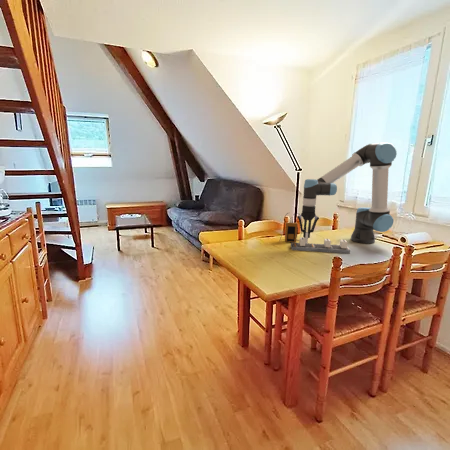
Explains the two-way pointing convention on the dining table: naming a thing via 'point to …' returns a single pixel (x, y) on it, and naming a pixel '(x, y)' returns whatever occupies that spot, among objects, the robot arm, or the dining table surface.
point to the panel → (319, 248)
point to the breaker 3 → (343, 244)
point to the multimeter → (291, 231)
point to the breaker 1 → (302, 241)
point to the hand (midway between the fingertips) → (305, 242)
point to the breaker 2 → (327, 243)
